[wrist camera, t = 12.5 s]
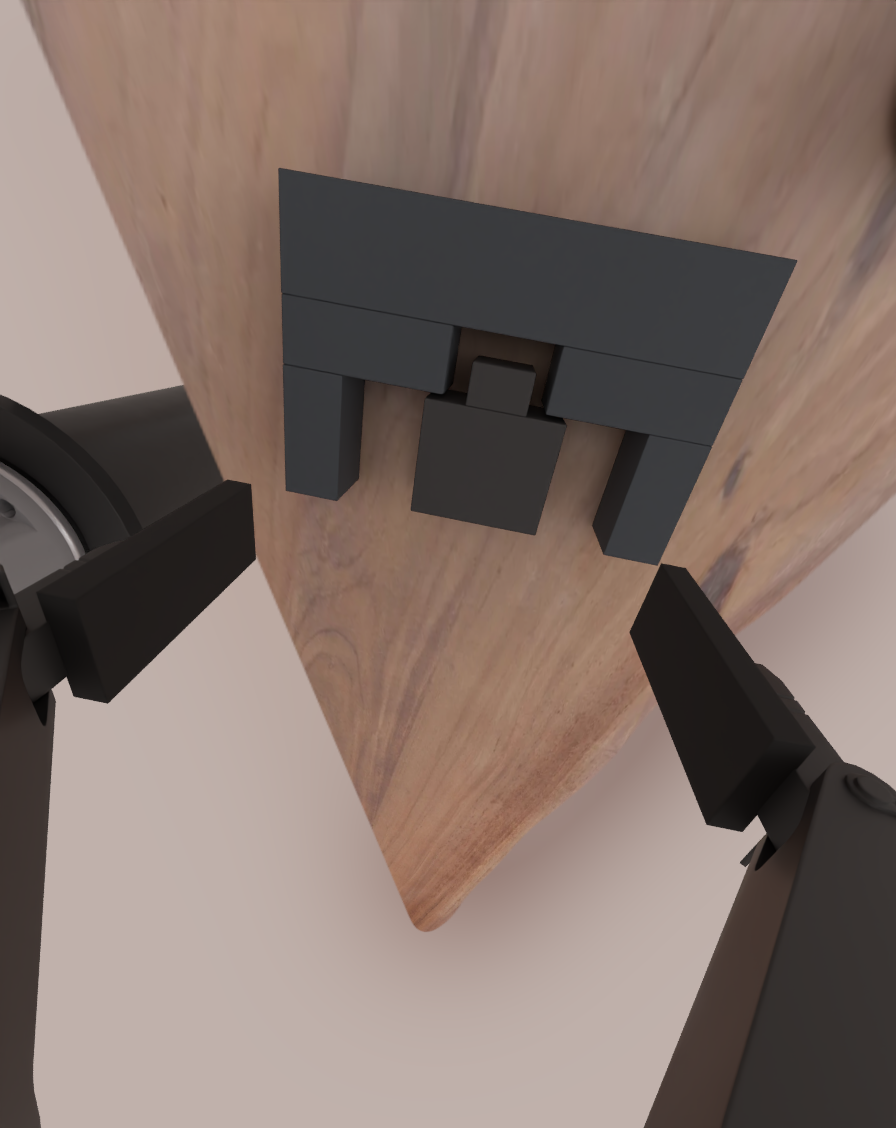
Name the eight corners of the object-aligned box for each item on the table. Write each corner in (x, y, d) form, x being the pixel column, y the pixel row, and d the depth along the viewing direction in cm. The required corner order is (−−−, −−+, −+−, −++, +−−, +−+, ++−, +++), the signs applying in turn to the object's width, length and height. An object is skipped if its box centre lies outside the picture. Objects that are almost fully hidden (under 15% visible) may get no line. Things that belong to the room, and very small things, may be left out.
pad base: (313, 469, 28) (285, 490, 25) (315, 191, 21) (277, 167, 18) (639, 535, 28) (657, 566, 24) (750, 270, 21) (798, 260, 17)
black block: (422, 487, 28) (410, 510, 25) (442, 348, 24) (430, 353, 21) (532, 508, 28) (535, 536, 24) (569, 372, 24) (579, 381, 20)
